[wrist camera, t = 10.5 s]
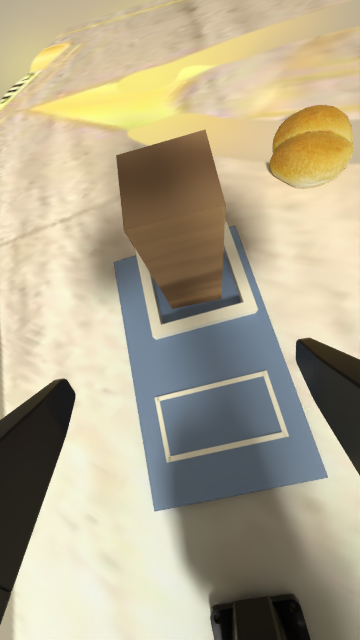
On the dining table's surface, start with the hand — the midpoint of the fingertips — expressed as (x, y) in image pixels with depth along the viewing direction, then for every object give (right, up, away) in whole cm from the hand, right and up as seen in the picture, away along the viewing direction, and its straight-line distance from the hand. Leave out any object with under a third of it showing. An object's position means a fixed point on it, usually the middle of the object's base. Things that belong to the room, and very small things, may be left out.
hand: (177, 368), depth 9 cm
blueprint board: (+2, -1, +14) cm, 14 cm away
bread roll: (+15, +21, +18) cm, 31 cm away
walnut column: (+1, +6, +15) cm, 16 cm away
